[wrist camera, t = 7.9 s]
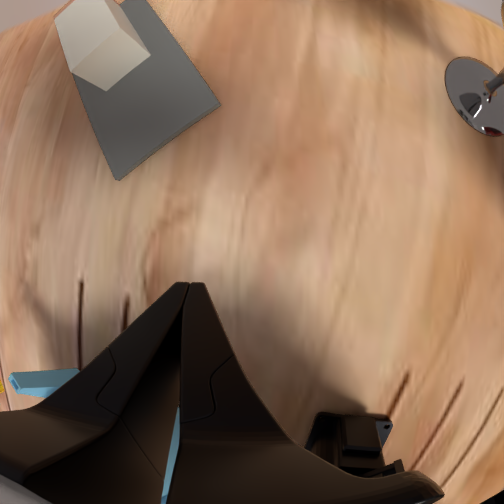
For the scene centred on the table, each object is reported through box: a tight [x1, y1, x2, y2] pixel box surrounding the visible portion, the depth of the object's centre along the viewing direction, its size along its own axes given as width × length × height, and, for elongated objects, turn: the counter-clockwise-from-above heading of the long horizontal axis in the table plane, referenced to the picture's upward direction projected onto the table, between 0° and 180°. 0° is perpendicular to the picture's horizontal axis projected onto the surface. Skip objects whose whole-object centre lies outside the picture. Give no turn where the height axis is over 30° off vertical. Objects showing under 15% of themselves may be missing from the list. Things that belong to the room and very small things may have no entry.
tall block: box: [53, 0, 151, 91], centre depth 19 cm, size 5×5×10 cm
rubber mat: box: [72, 0, 221, 181], centre depth 22 cm, size 18×10×1 cm, turn 31°
